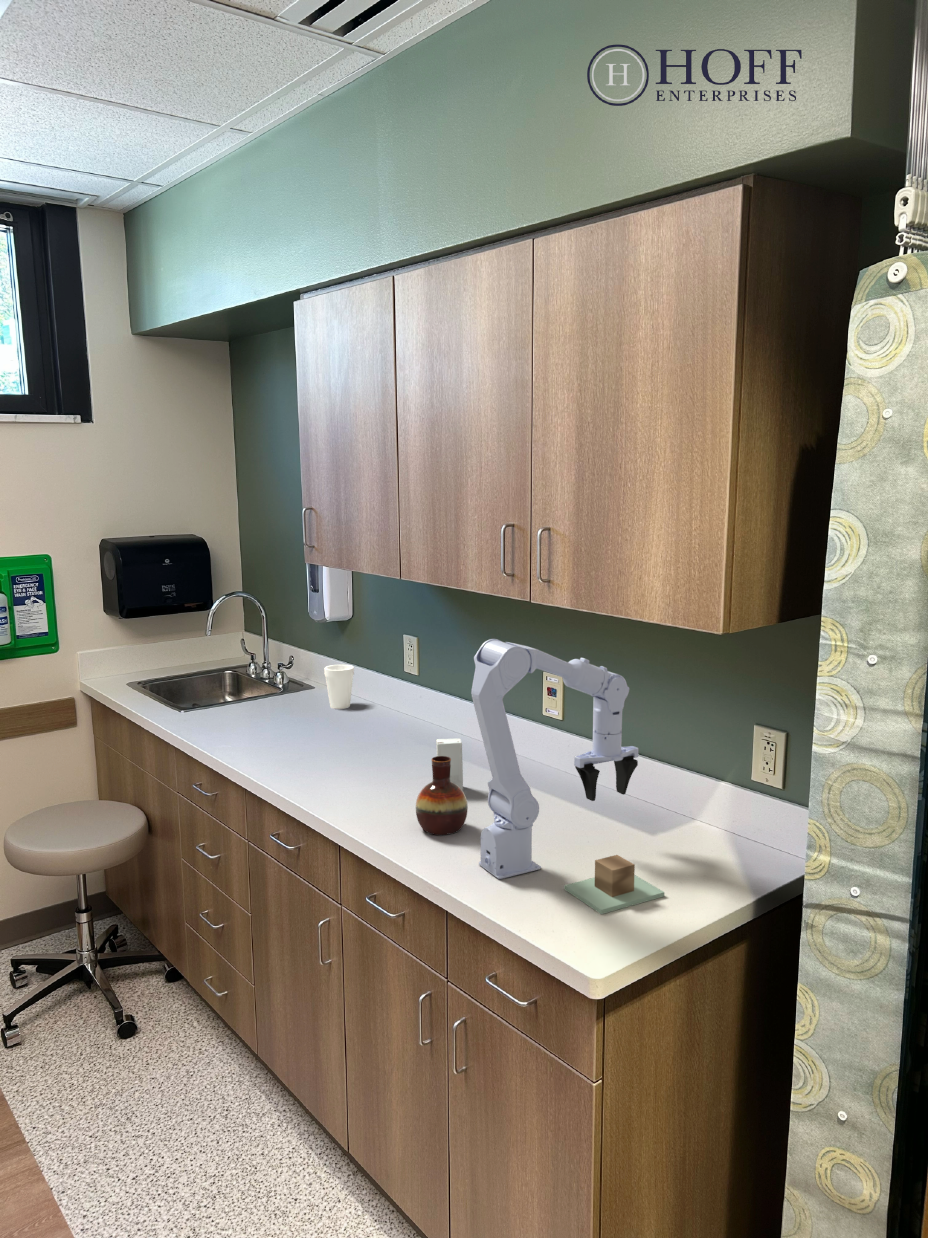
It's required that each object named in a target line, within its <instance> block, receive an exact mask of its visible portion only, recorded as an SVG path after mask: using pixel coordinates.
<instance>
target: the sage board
mask: <svg viewBox="0 0 928 1238" xmlns="http://www.w3.org/2000/svg"><path fill="white" fill-rule="evenodd" d="M563 889H564V890H565V892H568V893H569V894H571V895H572V896H574V897H576V898H577V900H579V901H581V902H582V903H584V904H585V905H587V906H588V907H590V908H591V909H593V910H594V911H596V912H597V913H599V914H600V915H604V914H606V913H607V914H608V913H611V912H614V911H616V910H617V911H618V910H621V909H625V908H627V907H632V906H635V905H639V904H641V903H645V902H649V901H652V900H656V899H659V898H663V897H665V891H664V890H661V889H660V888H658V887H657V886H655V885H653V884H652V883H650V882H648V881H646V880H645V879H643V878H641V877H639V876H638V875H636V873H634V891H632V892H629V893H625V894H622V895H618V896H615V897H611V896H609V895H607V894H606V893H604V892H603V891H601V890H600V889H598V888H596V887H595V876H594V877H592V878H587V879H583V880H579V881H575V882H572V883H568V884H564V887H563Z"/></svg>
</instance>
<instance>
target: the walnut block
mask: <svg viewBox="0 0 928 1238" xmlns="http://www.w3.org/2000/svg"><path fill="white" fill-rule="evenodd" d="M635 865H636V864H634V863H632V862H631V861H629V860H627V859H626V858H624V857H622V856H621V855H619V854H614V855H610V856H607V857H606V856H605V857H602V858H599V859H595V860H594V877H595V887H596V888H598V889H600V890H601V891H603V892H604V893H606V894H607V895H609V896H611V897H615V896H618V895H622V894H625V893H629V892H632V891H634V874H635V872H636V870H635V869H636V868H635V867H636V866H635Z"/></svg>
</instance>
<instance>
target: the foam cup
mask: <svg viewBox="0 0 928 1238" xmlns="http://www.w3.org/2000/svg"><path fill="white" fill-rule="evenodd" d="M323 670H324V672H323V673H324V675H323V676H325V682H326V688H327V695H328V702H329V706H330V709H334V710H343V709H348V708H350V706H351V701H352V700H351V699H352V692H353V691H352V690H353V681H354V675H355V667H354V665H350V664H332V665H326V666H325V667H324V668H323Z"/></svg>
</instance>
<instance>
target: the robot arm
mask: <svg viewBox="0 0 928 1238" xmlns="http://www.w3.org/2000/svg"><path fill="white" fill-rule="evenodd" d="M473 661H474V666H475V669H474V675H473V678H472V679H473V680H472V686H471V692H470V694H471V699H472V703H473V707H474V710H475V711H474V712H475V715H476V718H477V722H478V726H479V730H480V734H481V738H482V742H483V745H484V746H483V747H484V748H485V749H484V751H485V752H486V753H485V754H486V758H487V760H488V766H489V771H490V773H491V779H490V780H489V781H488V782H487V787H488V796H487V805H488V807H489V809H490V810H491V811H492V812H493V822H492V823H491V824H490V825H488V826H486V827H484V828H483V829H482V830H481V832H480V861H479V862H478V865H479V866H480V867H481V868H483V869H484V870H485V871H487V872H489V873H490V874H491V875H493V876H494V877H495V878H497V879H499V880H502V879H505V878H510V877H514V876H519V875H522V874H523V875H524V874H527V873H530V872H533V871H537V870H540V869H541V865H539V864H538V863H536V862H535V861H533V860H532V856H533V854H532V851H533V848H532V847H533V845H532V844H533V840H532V839H533V838H532V836H533V835H532V832H533V829H532V828H533V826H534V823H535V821H536V820H537V819H538V817H539V814H540V804H539V801H538V800H537V799H536V797H534V796H533V794H532V791H531V786H530V785H529V784H528V783H527V781H526V780H525V779H524V777H523V776H522V774H521V769H520V765H519V761H518V757H517V754H516V753H517V752H516V750H515V745H514V741H513V737H512V732H511V729H510V725H509V721H508V716H507V712H506V709H505V705H504V701H503V699H504V698H505V696H506V694H507V693H509V692H510V690H512V689H513V688H514V687H515V686H516V685H517V684H518V683H519V682H520V681H521V680H522V679H523V678H524V677H526V675H527V674H533V673H534V672H535V671H536V670H540V671H542V672H546V673H549V674H552V675H555V676H557V677H561V678H562V681H563V684H564V686H566V687H567V688H570V689H573V690H576V691H578V692H581V693H584V694H586V695H589V696H591V697H592V698H593V704H592V705H593V706H592V707H593V708H592V710H593V711H592V749H591V750H589V751H587V752H584V753H582V754H578V755H575V756H574V757H573V758H574V761H573V765H574V767H575V769H576V771H577V773H578V775H579V777H580V780H581V782H582V785H583V789H584V792H585V797H586V799H587V800H589V801H591V802H594V801H595V800H596V796H597V784H598V783H597V782H598V778H599V775H600V770H599V769H597V768H596V766H595V765H597V764H602V763H607V762H608V763H609V762H612V761H613V763H614V768H615V780H616V781H615V789H616V793H618V794H621V795H622V796H623V795H626V793H627V789H628V786H629V783H630V780H631V777H632V775H633V773H634V772H635V769H636V768H637V767H638V765H639V762H638V759H636V758H639V747H636V746H635V745H634V746H633V745H630V746H622V743H623V742H622V739H623V737H622V736H623V735H622V734H623V731H622V730H623V729H622V728H623V709H624V708H625V700H626V699H627V698H628V695H629V692H630V687H629V686H628V684H627V681H626V679H625V677H624V676H622V675H621V674H619V673H615V672H611V671H609V670H608V668H607V667H605V666H603V665H600V666H596V665H595V664H592V663H590V660H589V659H587V658H584V657H580V658H574V659H571V660H569V661H565V660H564V659H560V658H558V657H557V656H553V654H552V655H551V654H549V653H547V652H545V651H542V650H540V649H538V648H534V647H530V646H528V645H524V644H519V643H514V642H509V641H505V642H504V641H502V640H500V639H497V638H489V639H488V640H485V641H484V642H483V643H482V644H481V646H480V647H479V649H478V650H477V651H476V654H475V655H474V656H473Z"/></svg>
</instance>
